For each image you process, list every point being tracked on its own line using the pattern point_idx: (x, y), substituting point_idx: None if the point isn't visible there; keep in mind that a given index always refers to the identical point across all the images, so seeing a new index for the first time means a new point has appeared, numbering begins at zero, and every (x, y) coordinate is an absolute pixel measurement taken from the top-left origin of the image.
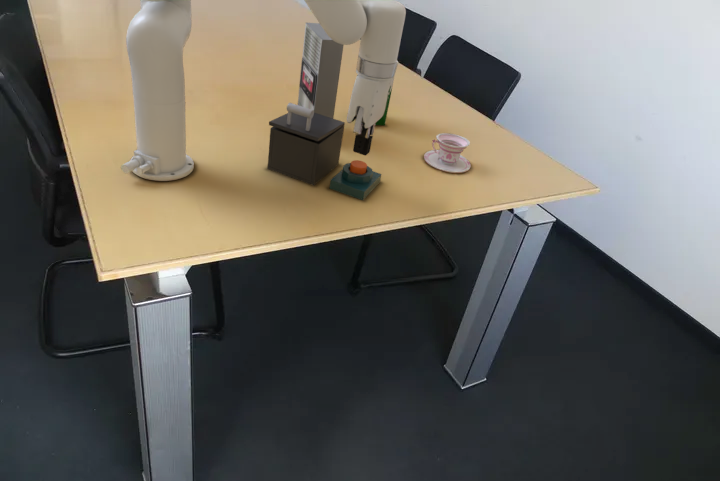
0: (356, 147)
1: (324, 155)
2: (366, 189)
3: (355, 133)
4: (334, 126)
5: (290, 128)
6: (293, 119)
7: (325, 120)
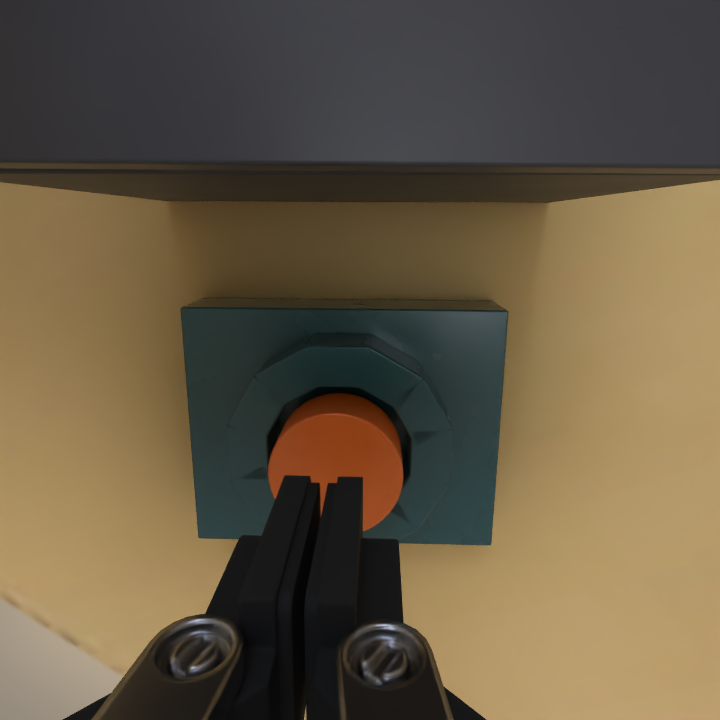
0: (237, 546)
1: (219, 190)
2: (232, 537)
3: (148, 645)
4: (469, 120)
5: None
6: None
7: None
